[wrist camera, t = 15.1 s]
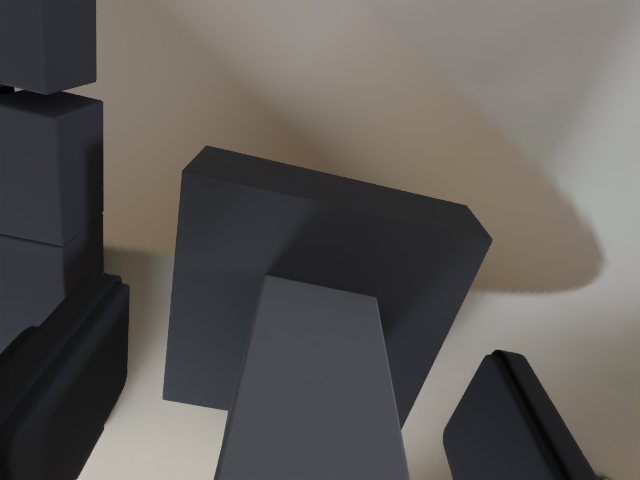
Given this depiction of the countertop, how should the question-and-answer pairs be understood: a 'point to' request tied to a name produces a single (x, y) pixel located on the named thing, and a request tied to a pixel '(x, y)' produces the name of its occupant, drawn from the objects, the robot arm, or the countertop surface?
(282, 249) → the pad
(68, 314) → the robot arm
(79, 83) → the pad
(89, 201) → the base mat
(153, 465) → the countertop surface
